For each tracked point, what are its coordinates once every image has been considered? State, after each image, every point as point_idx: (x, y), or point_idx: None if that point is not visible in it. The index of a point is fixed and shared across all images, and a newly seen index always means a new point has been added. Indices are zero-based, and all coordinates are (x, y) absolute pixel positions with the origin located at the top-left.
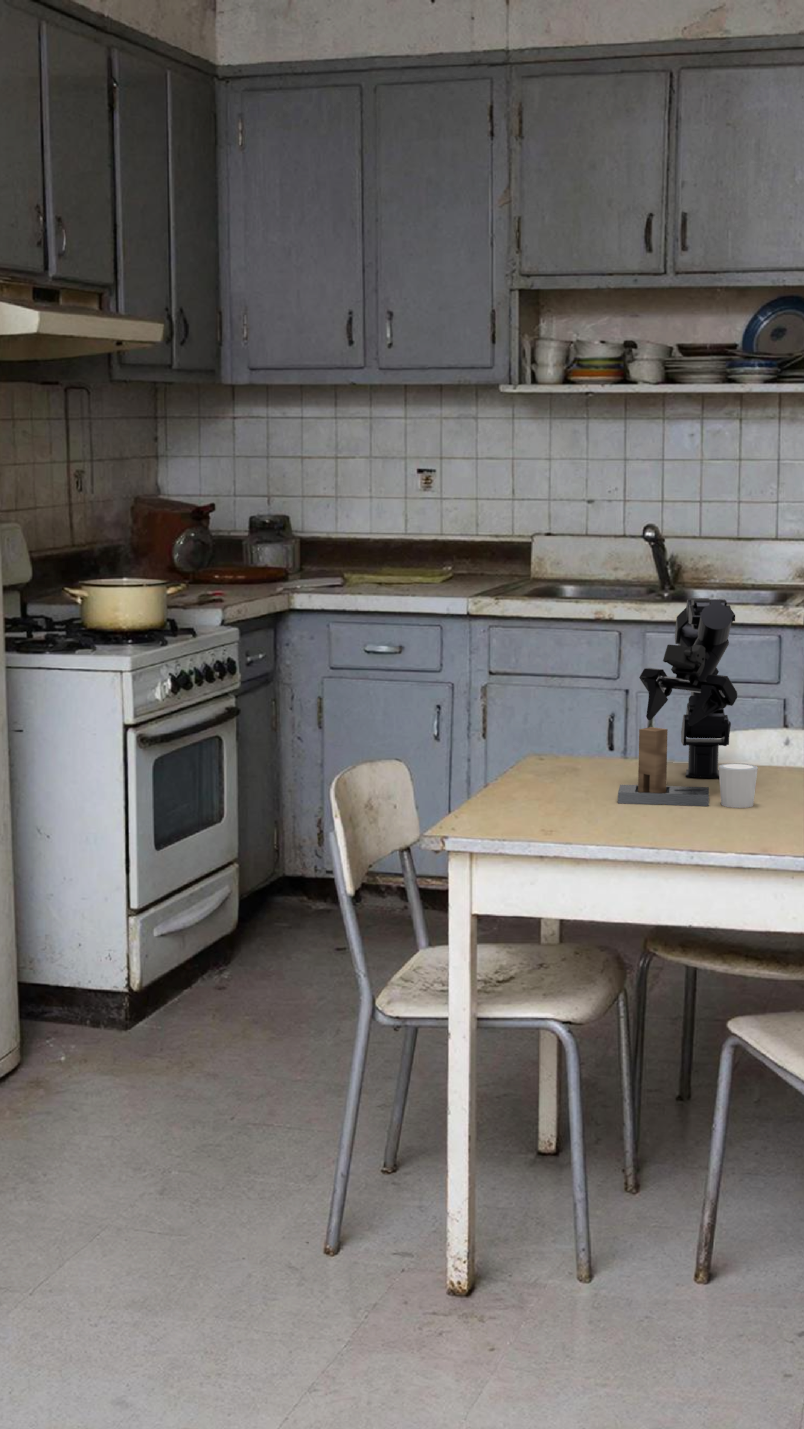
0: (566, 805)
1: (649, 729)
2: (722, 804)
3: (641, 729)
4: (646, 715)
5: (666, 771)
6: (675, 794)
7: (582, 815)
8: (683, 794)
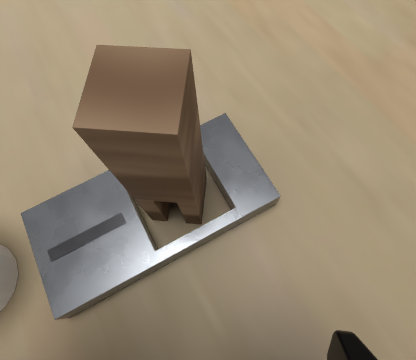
0: (293, 55)
1: (147, 71)
2: (8, 249)
3: (179, 51)
4: (358, 339)
5: (133, 197)
6: (100, 174)
7: (215, 11)
8: (82, 183)
